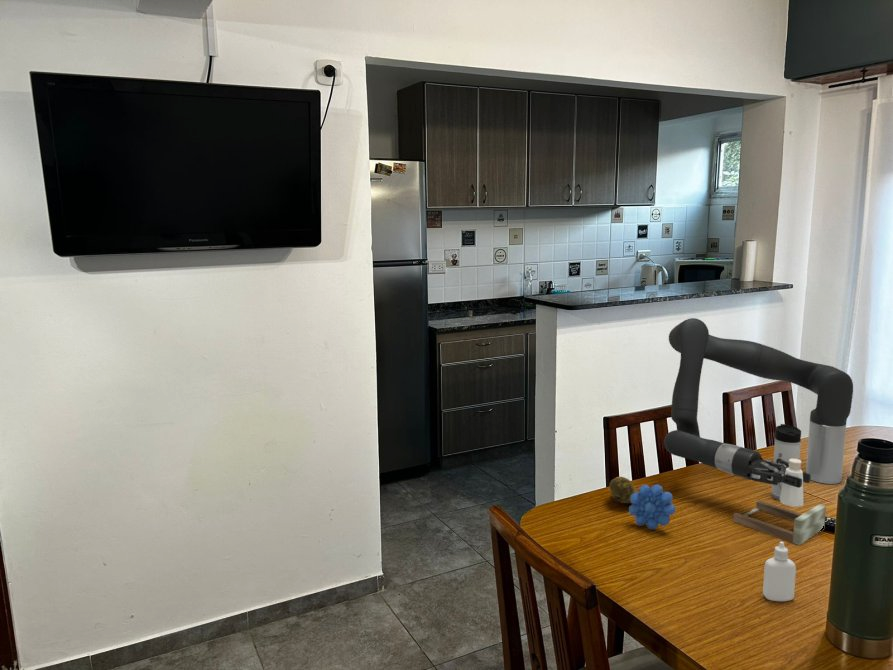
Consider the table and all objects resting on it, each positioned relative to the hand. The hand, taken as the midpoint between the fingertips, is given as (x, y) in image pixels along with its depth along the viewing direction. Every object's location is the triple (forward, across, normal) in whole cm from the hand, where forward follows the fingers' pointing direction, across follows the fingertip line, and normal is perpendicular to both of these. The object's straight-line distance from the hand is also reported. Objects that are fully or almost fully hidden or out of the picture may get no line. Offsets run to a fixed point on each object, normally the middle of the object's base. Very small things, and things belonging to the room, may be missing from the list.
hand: (805, 481), depth 161 cm
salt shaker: (-3, 0, +7) cm, 7 cm away
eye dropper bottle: (+10, -32, +14) cm, 36 cm away
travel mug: (-13, +18, +14) cm, 26 cm away
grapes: (-25, -25, +14) cm, 38 cm away
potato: (-39, -18, +14) cm, 45 cm away
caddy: (-6, 0, +14) cm, 15 cm away
